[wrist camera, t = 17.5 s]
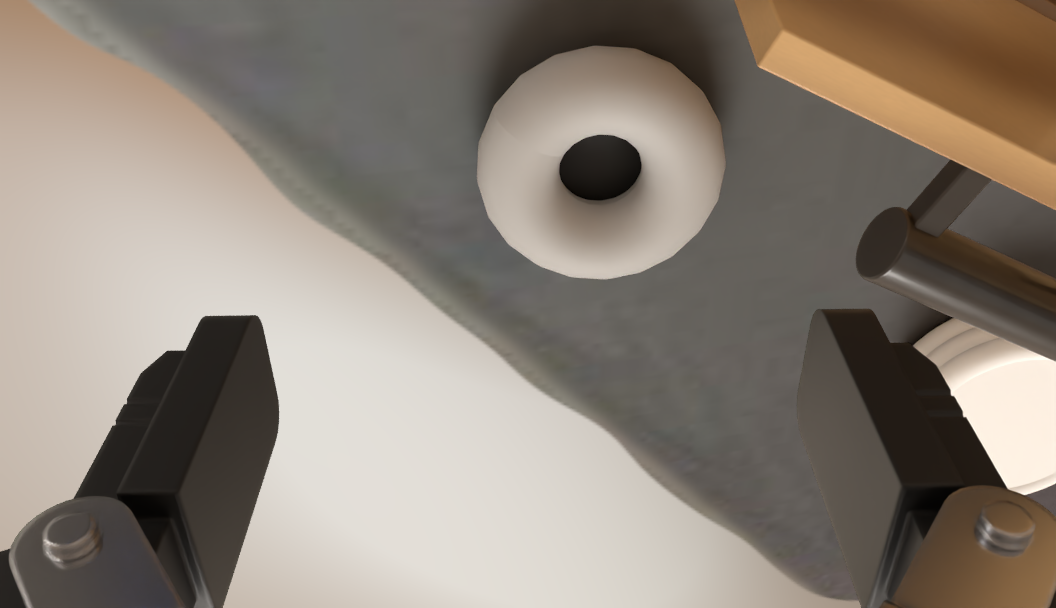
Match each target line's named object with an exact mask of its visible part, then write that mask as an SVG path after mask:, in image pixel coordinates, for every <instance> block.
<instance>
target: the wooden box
mask: <svg viewBox="0 0 1056 608" xmlns="http://www.w3.org/2000/svg"><path fill="white" fill-rule="evenodd" d="M1016 1H1018V2H1020V3H1022V4H1023V5H1025V6H1027V7H1029V8H1031V9H1033V10H1034V11H1036V12H1038V13H1040V14H1042V15H1044V16H1045V17H1047V18H1049V19H1051V20H1053V21H1055V22H1056V0H1016Z"/></svg>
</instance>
